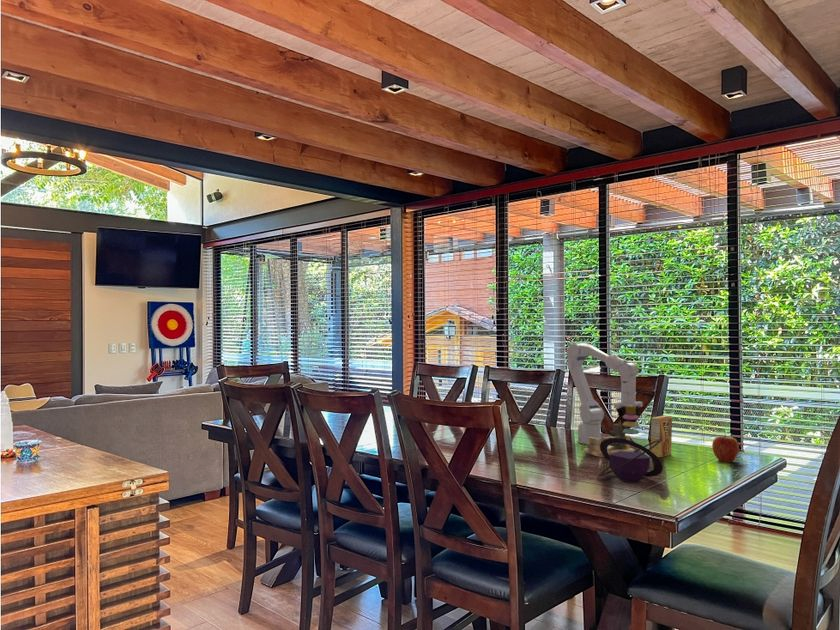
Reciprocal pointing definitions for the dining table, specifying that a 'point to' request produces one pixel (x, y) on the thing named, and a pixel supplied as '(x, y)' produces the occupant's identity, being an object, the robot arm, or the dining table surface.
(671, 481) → the dining table surface
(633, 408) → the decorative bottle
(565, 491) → the dining table surface
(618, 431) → the dark grey z bracket
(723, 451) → the apple
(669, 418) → the candy box
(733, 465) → the dining table surface
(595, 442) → the pipe stand
